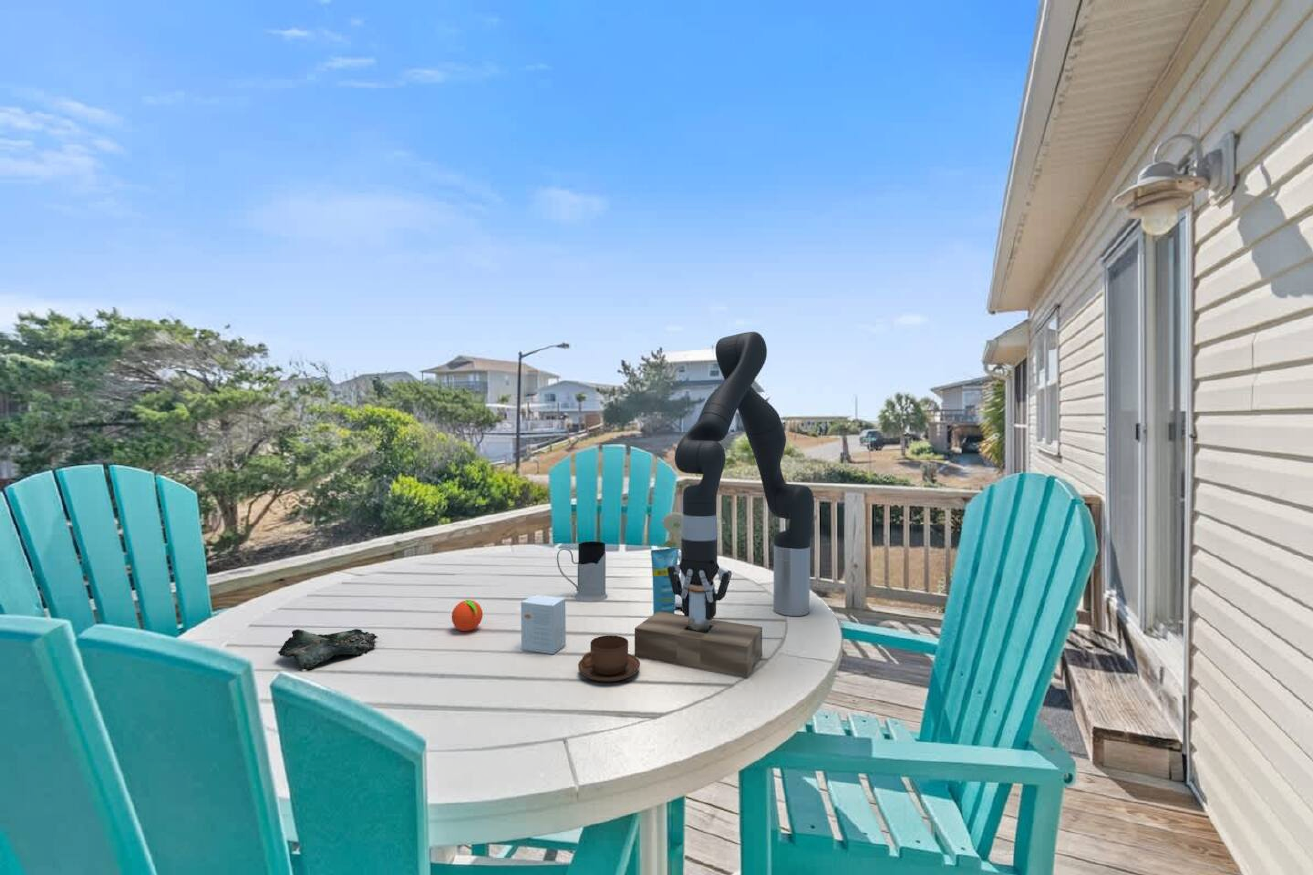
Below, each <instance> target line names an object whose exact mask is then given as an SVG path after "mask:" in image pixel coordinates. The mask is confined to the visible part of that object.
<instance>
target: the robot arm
mask: <svg viewBox="0 0 1313 875" xmlns="http://www.w3.org/2000/svg"><path fill="white" fill-rule="evenodd" d="M767 355H768V348H767V343H766V340H765V338H763V335H762V334H761V333H759V332H757V331H748V332H742V333H737V334H733V335H728V336H724V337H721V338H720V339H719V340H718V341H717V342H716V345H715V356H716V357H715V359H716V361H717V365H718V368H719V370H720V373H721V376H723V379H724V381H723V382H722V383H721V384H720V385H718V386H717V387H716V389H714V391H713V392H712V393H711V394H710V395H709V396H708V398H707V400H706V401H705V403H704V405H703V406H702V409H701V412H700V414H699V417H698V418H697V421H696V422H695V423H694V424H693V426H691V428H690V429H689V430H688V431H687V432H686V433H685V435H683V437H682V438H681V440H679V443H678V444H677V446H676V449H675V453H674V463H675V466H676V468H677V469H678V470H679V471H680V472H681V473H685V474H691V475H692V474H694V475H702V478H701V480H700V482H699V484H693V485H688V486H686V487H684V489H683V492H682V514H683V518H682V527H681V535H680V536H681V537H680V538H681V539H680V540H681V541H680V542H681V544H680V548H681V550H680V552H681V558H682V559H681V562H680V561H679V564H677V565H675V564H674V565H671V566H670V567H668V569H667V570H668V574H669V578H670V582H671V586H672V590H673V593H674V594H675V595H679V596H681V598H682V608H681V612H682V614H683V615H684V616H686V617H688V596H689V590H688V588H689V584H690V583H691V584H699V585H703V586H704V591H705V592H706V595H707V599H708V602H707V620H711V619H712V620H713V618H714V617H715V616H716V614H717V601H721V600H723V599H724V597H726V595H727V590H728V587H729V585H730V581H731V578H732V575H733V573H732V571H731V570H724V569H722V568H720V566H719V563H718V518H717V496H718V491H719V486H720V482H721V479H722V474H723V472H724V468H725V465H726V451H725V449H724V447H723V445H722V444H721V443H720V442H722V441H723V440H724V439H725V438H726V437H727V435H728V432H729V430H730V428H731V425H732V422H733V420H734V417H735V416H736V413H737V411H738V414H739V416H740V419H741V422H742V426H743V430H744V431H745V435H746V437H747V441H748V443H749V444H748V445H749V446H750V448H751V450H752V451H751V452H752V453H753V456H754V459H755V463H756V466H757V469H758V472H759V475H760V479H761V483H762V488H763V491H764V492H763V493H764V496H765V501H766V503H767V506H768V509H769V511H770V513H771V514H772V515H773V516H775V517H776V518H780V519H785V520H789V523H788V524H789V525H788V528H787V529H785V530H782V531H779V532H776V533H775V534H774V536H773V594H772V595H773V597H772V598H773V599H772V601H773V602H772V603H773V604H772V605H773V606H772V608H773V611H774V612H775V613H777V614H780V615H783V616H790V617H801V616H802V617H803V616H806V615H808V614H810V595H811V594H810V593H811V592H810V590H811V588H810V586H811V585H810V584H811V581H810V580H811V578H810V577H811V569H810V568H811V540H812V536H813V531H814V530H813V529H814V514H815V498H814V494H813V491H812V489H811V488H810V487H809V486H807V485H804V484H803V485H802V484H793V483H787V482H786V481H785V478H784V475H783V473H782V467H781V464H782V459H783V455H784V451H785V449H786V445H787V444H786V443H787V435H786V432H785V428H784V426H783V423H782V419H781V417H780V414H779V413H778V411H777V410H776V409H775V408H774V406H772V404H771V403H770V402H769V401H767V400H766V398H763V396H762V395H761V394H759V393H758V392H757V391H756V390H755V388H754V387H753V386H752V385H753V384H754V382H755V380H756V378H757V377H758V375H759V374H760V372H761V371H762V369H763V367H764V365H765V363H766V360H767V358H768V357H767ZM681 571H682V573H683V575H684V576H685V581H684V585H683V588H682V585H681V581H680V578H681V576H680V575H681ZM717 575H718V580H719V581H720V582H719V586H718V589H717V591H716V583H715V582H714V578H715V577H716V576H717ZM709 583H711V585H710V586H709Z"/></svg>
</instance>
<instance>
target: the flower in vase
mask: <svg viewBox="0 0 1313 875" xmlns="http://www.w3.org/2000/svg"><path fill="white" fill-rule="evenodd" d="M682 518H683V512H677V511H674V512H673V511H672V512H670V513H667V514H666V515H664V518H663V519H662V521H661V524H662V525H663V528H664V529H665V531H667V533H669V534H673V535H674V536H675V537H674V538H675V541H673V540H670V539H668V540H666V541H665V542H663V544H662V547H667V548H673V547H679V550H680V552H679V551H678V561H679V563H680V562H681V559H682V558H681V546H680V545H679V544H678V541H677V536H681V527H682ZM680 581H681V585H682V588H683V585H684V581H685V576H684V575H683V573H682V571H681V570H680ZM675 608H681V609H682V598H681V596H679V595H675Z"/></svg>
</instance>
